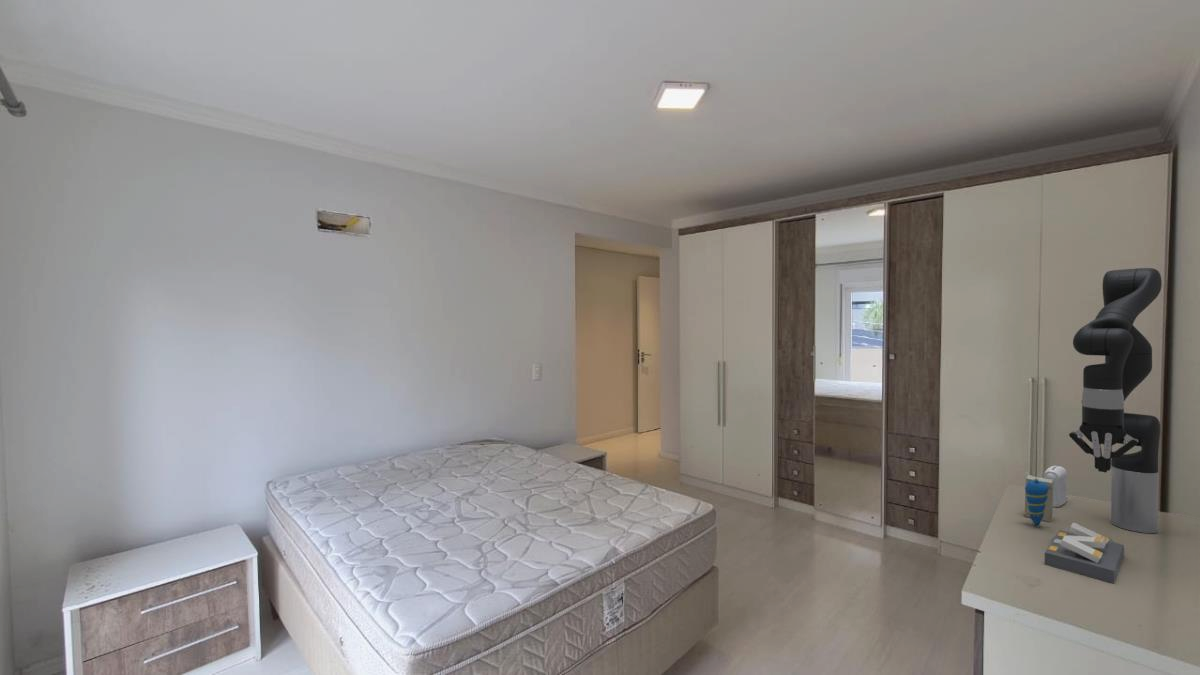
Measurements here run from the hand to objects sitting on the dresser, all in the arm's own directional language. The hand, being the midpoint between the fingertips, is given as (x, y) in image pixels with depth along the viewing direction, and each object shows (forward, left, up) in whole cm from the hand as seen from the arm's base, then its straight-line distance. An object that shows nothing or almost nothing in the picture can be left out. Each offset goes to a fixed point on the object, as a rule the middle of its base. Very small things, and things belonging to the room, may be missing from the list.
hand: (1102, 471), depth 125 cm
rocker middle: (+8, -2, -17) cm, 19 cm away
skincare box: (-18, -15, -22) cm, 32 cm away
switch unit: (+8, -2, -22) cm, 23 cm away
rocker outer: (+14, -2, -17) cm, 22 cm away
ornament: (-9, -14, -22) cm, 28 cm away
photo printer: (-37, -14, -22) cm, 45 cm away
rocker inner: (+2, -2, -17) cm, 17 cm away
